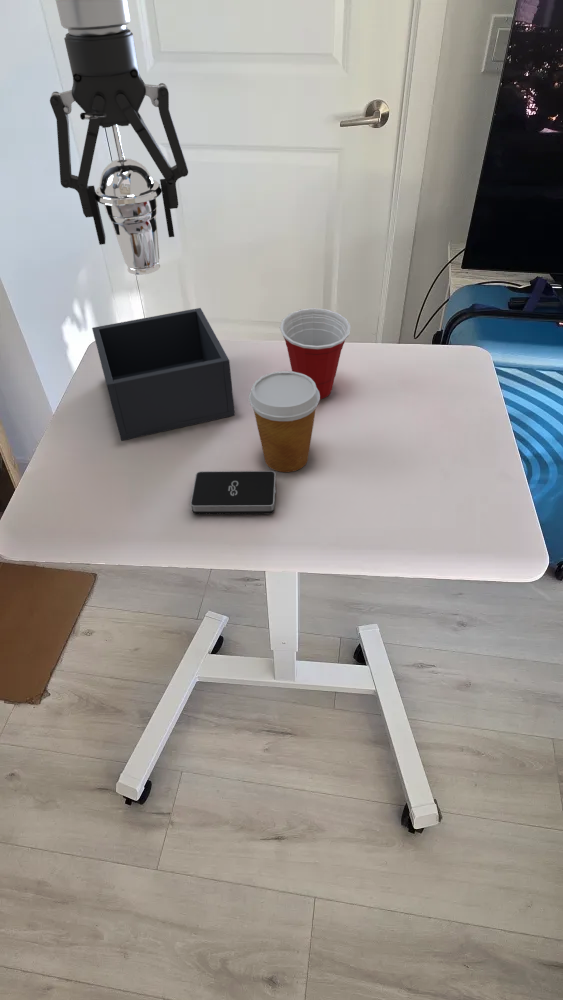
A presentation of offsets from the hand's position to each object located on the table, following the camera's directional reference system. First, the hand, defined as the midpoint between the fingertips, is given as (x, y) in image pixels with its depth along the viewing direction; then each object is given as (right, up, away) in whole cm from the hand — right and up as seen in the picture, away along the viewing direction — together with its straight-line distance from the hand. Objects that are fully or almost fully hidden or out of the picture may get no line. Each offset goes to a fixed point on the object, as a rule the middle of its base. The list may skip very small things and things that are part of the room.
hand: (137, 236), depth 85 cm
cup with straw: (0, -3, +3) cm, 5 cm away
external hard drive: (+13, -36, 0) cm, 38 cm away
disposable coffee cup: (+20, -30, +6) cm, 37 cm away
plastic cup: (+25, -18, +19) cm, 36 cm away
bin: (+1, -19, +19) cm, 26 cm away
